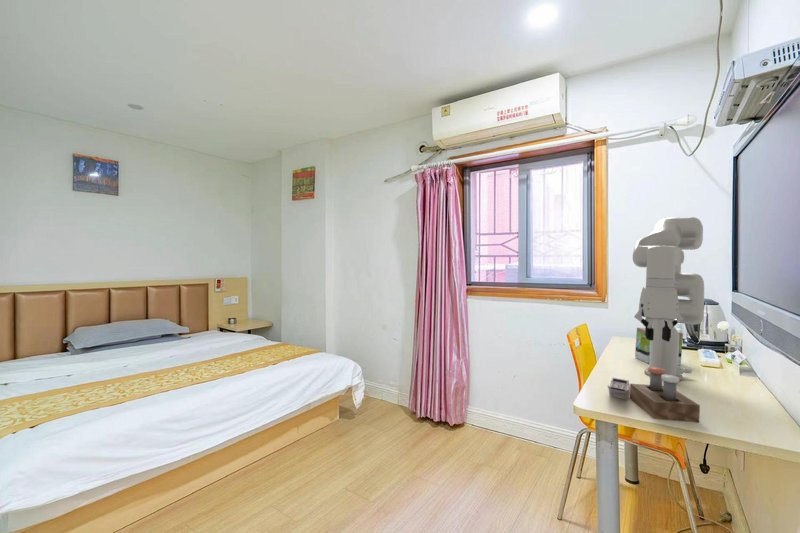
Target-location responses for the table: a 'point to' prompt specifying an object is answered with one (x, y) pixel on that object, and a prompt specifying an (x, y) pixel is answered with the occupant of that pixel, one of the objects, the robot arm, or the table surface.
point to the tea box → (644, 346)
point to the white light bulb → (669, 387)
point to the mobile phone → (619, 388)
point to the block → (664, 404)
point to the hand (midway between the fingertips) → (657, 339)
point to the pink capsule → (656, 378)
